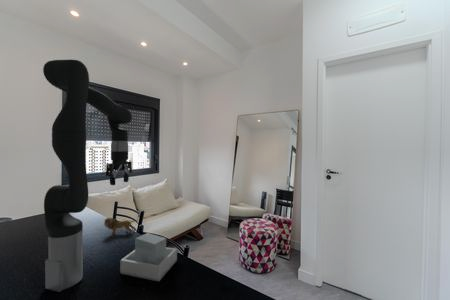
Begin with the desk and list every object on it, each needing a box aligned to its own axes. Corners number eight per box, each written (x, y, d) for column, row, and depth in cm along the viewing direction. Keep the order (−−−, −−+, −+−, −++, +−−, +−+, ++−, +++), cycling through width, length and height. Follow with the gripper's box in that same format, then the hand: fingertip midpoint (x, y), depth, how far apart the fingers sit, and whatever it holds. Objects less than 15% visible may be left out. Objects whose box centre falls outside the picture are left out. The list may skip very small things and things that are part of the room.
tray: (159, 281, 71) (159, 267, 70) (120, 273, 75) (120, 260, 74) (176, 260, 83) (176, 248, 83) (142, 255, 87) (142, 243, 87)
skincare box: (166, 263, 80) (166, 237, 79) (154, 273, 74) (154, 244, 74) (147, 256, 84) (147, 231, 84) (134, 265, 78) (134, 238, 78)
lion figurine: (103, 237, 102) (103, 220, 102) (105, 233, 107) (105, 216, 107) (135, 233, 108) (135, 216, 107) (135, 229, 113) (135, 213, 112)
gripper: (114, 151, 91) (114, 186, 92) (136, 150, 105) (136, 181, 105) (101, 150, 93) (101, 185, 93) (123, 149, 107) (123, 180, 107)
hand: (119, 183), depth 99 cm, fingers open, 8 cm apart
